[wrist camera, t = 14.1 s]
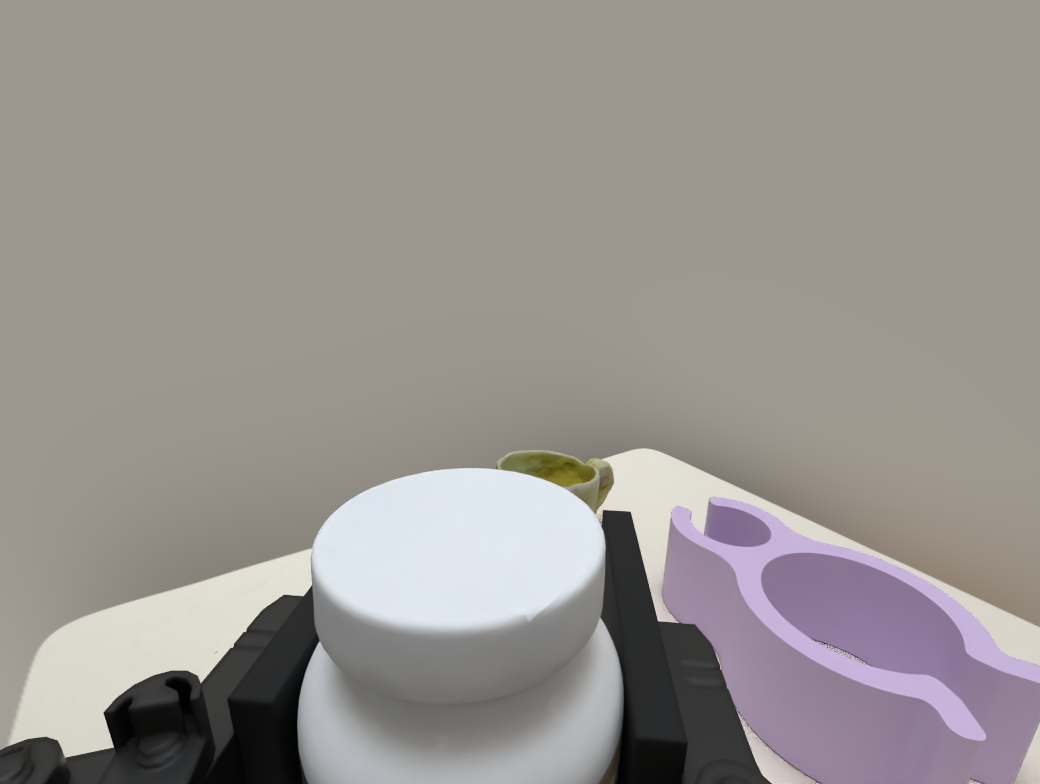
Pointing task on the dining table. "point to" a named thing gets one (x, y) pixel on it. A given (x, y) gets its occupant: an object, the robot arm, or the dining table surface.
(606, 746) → the pill bottle
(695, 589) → the clip
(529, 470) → the mug
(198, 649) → the dining table surface
